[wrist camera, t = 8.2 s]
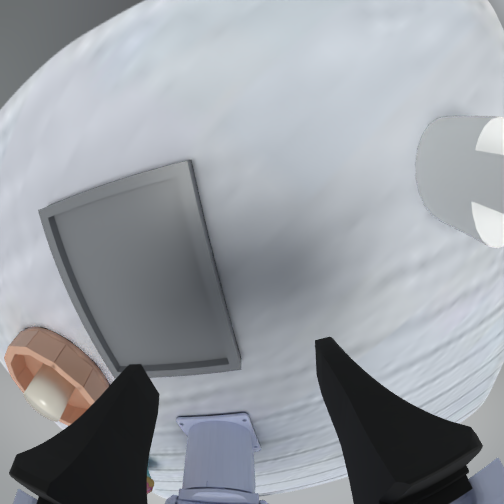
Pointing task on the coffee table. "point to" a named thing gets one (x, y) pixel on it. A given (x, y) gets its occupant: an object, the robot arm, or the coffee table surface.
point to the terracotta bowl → (56, 367)
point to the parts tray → (144, 274)
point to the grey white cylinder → (464, 175)
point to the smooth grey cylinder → (49, 393)
